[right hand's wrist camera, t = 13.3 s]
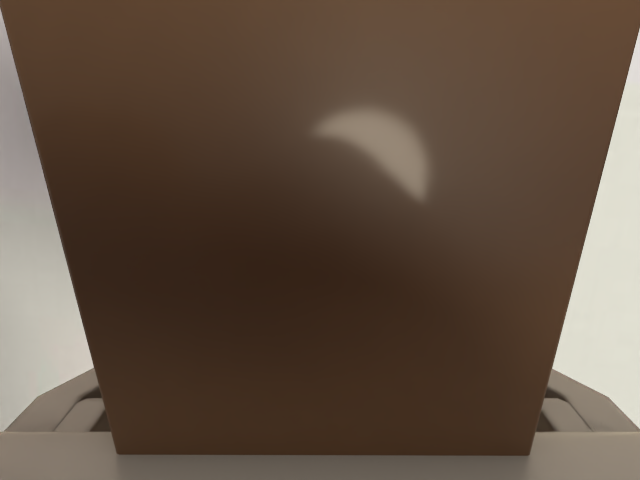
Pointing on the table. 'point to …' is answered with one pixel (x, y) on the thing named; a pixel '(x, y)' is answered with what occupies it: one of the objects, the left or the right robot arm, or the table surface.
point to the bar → (322, 210)
